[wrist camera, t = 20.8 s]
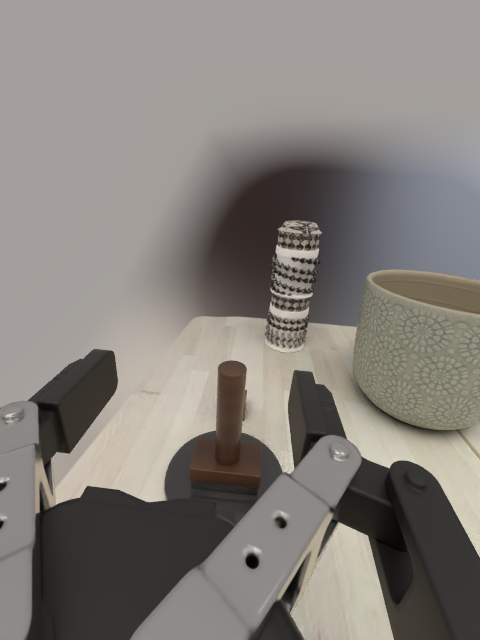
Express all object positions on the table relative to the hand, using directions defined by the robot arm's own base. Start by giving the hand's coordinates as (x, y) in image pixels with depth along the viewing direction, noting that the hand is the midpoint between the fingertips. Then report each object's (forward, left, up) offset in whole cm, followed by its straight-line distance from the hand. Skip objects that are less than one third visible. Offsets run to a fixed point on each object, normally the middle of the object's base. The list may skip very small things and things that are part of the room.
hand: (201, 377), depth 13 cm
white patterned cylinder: (+18, +42, -22) cm, 51 cm away
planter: (+33, +22, -22) cm, 46 cm away
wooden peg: (+3, +11, -21) cm, 24 cm away
